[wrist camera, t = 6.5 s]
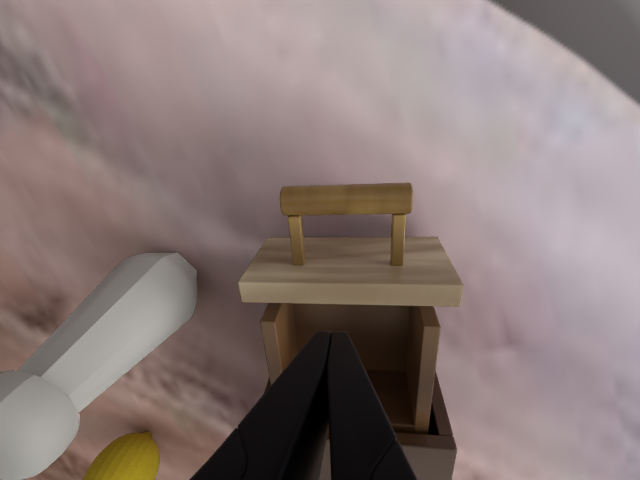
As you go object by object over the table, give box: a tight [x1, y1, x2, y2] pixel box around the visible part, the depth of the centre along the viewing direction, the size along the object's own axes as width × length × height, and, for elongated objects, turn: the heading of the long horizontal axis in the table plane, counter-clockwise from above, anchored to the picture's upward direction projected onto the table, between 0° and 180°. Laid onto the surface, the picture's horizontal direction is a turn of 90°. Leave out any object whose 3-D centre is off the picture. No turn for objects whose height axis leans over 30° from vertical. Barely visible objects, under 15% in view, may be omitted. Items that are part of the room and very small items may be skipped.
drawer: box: [238, 183, 464, 435], centre depth 18 cm, size 15×10×5 cm
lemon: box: [83, 432, 160, 480], centre depth 28 cm, size 6×6×8 cm
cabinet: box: [264, 370, 457, 480], centre depth 23 cm, size 12×12×7 cm
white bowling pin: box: [0, 253, 197, 480], centre depth 17 cm, size 6×6×13 cm
